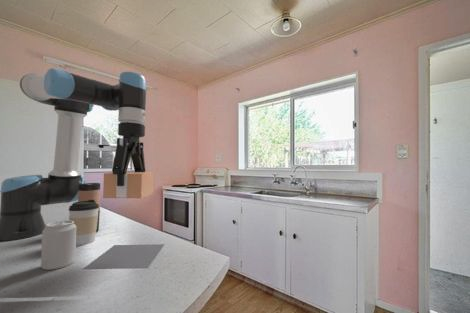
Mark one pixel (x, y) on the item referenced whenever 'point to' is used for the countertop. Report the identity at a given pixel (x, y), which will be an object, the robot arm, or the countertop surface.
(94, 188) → the travel mug
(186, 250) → the countertop surface
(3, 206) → the robot arm
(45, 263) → the white soda can
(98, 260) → the mat
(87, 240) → the coffee cup
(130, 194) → the orange block
